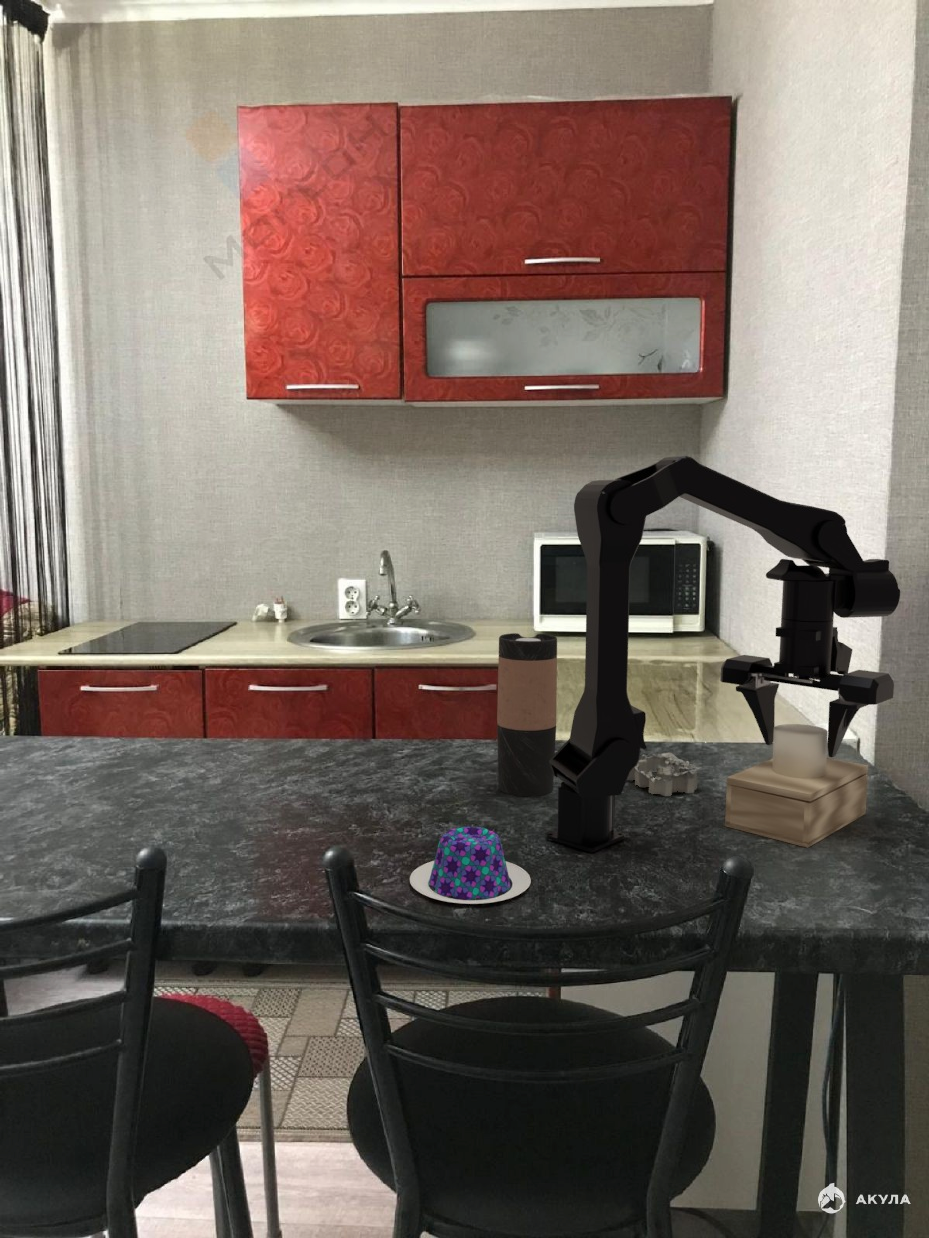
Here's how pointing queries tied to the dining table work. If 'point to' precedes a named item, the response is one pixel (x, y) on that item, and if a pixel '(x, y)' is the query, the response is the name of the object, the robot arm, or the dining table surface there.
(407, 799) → the dining table surface
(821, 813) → the storage box
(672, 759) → the egg carton
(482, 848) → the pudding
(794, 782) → the box lid
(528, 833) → the dining table surface
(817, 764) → the beige tapered cylinder
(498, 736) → the travel mug
